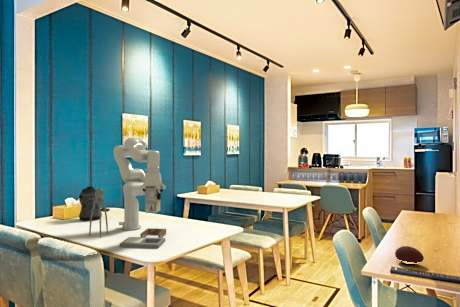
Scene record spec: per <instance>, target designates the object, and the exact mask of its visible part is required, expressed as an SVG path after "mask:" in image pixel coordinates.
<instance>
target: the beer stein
mask: <svg viewBox="0 0 460 307" xmlns="http://www.w3.org/2000/svg"><path fill="white" fill-rule="evenodd" d="M95 191H96V189H95V187H94V186H86V188H82V190H81V192H80V194H79V195H78V199H79V203H80V205H81V206H80V212H79V215H78V218H79V221H80V222H90V218H91V212H92V207H93V203H94V200H96V196H95ZM102 215H103V213H102V212H101V217H102ZM94 221H100V209H99V207H98V204H97V203H95V207H94V211H93V216H92V222H94Z"/></svg>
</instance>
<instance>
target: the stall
mask: <svg viewBox="0 0 460 307" xmlns="http://www.w3.org/2000/svg"><path fill="white" fill-rule="evenodd" d="M149 235H158V237H157V238H165V236H166V235H167V228H157V227H156V228H149V227H148V228H146V229H145V230H144V231H142V232H141V233H140V234H139V237H147V236H149Z"/></svg>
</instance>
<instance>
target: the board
mask: <svg viewBox="0 0 460 307" xmlns="http://www.w3.org/2000/svg"><path fill="white" fill-rule="evenodd" d="M165 242H166V237H163V238H158V237H147V236H146V237H140V236H139V237H138V236H128V237H126V239H124V240H122V241H121V242H119V248H140V249H141V248H142V249H143V248H144V249H145V248H146V249H159V248H160V247H161V246H162V245H163V244H164V243H165Z"/></svg>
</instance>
